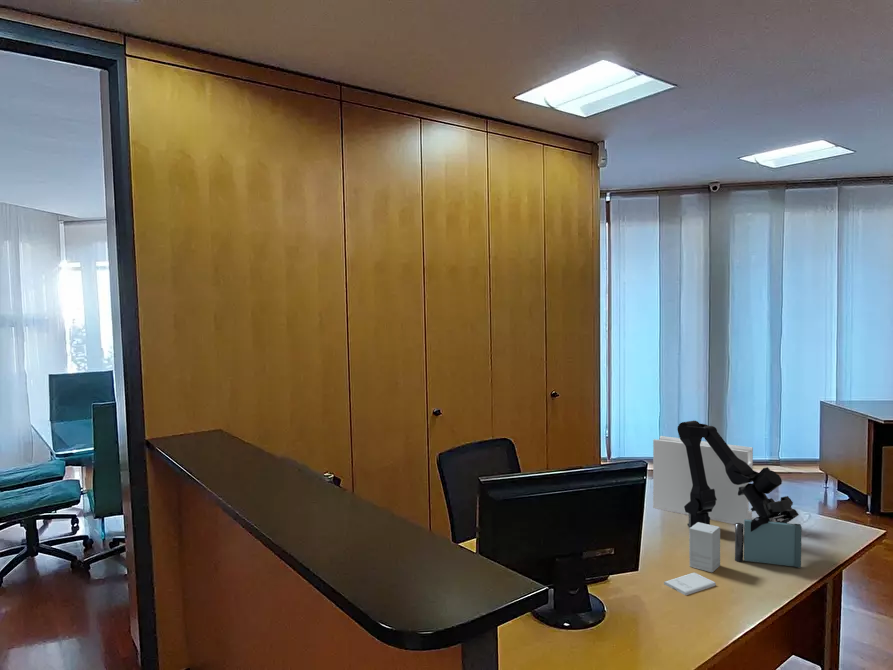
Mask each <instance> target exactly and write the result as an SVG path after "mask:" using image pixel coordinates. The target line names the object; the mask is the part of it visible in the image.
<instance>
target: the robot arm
mask: <svg viewBox="0 0 893 670" xmlns="http://www.w3.org/2000/svg"><path fill="white" fill-rule="evenodd" d="M676 430H677V433H678V438H680V440H681V441H682V442H683V443H684V445H685V446H686V450H687V456H688V462H689V467H690V473H691V478H692V484H693V487H692V490H691V493H690V502H689V503H687V504H686V505H685V506H684V508H685V512H687V513H689V515H688V523H687V527H688V529H689V528H690V527H692V526H693V525H695V524H696V523H697V522H700V523H704V524H709V525H711V519H710V517H709V516H708V512H712V509H713V507H714V506H715V505H716V500H717V499H716V496H715V490H714V489H710V487H709V486H708V485H707V481H706V475H705V470H704V465H703V459H702V454H701V448H700V443H701V441H702V439H705V440H704V441H705V442H708V444H709V445H710V446H711V448H712V449H713V450H714V452H715V453H716V454H717V456H718V457H719V458H720V459H721V461H722V462H723V464H724V465H725V470H726V473H727V475H728V477H729V479H730V481H731V482H732V483H733V484H736V485H741V484H745V483H749V484H747V485H746V486H744V487H739V491H738V495H739V496H740V495H745V496H746V498H747V499H748V501H749V505H751V508H750V511H752V513H753V512H755V513H756V514H757V516H756V517H755V518H752V522H751V532H752V531H754V530H756V529H757V528H758V527H760V526H761V525H763V524H767V523H768V522H779V523H789V522H791V521H792V520H794V519H795V518H797V517H798V516H799V513H798V511H797V510H796V509H795V508H792V506H793V505H794V504H793V503H794V501H793V500H792V499H791V497H790V496H788V495H785V496H782V497H780V500H778V501H777V500H776V501H775V500H774V499H773V498H772V497H771V498H769V497H768V496H767V494H771V493H772V492H773V491H774V490H776V489H777V488H778V487H779V486H781V485H782V484H783V479H782V478H781V476H780V474H778V473H777V472H776V471H773V470H771V469H770V468H769V467H768V466H767V467H763V468H761V470H760V471H759V472H758V471H756V470H754V469H752V468H751V467H750V466H749V465H748V464H747V463H746V462H744V461H742V460H740V459H739V458H738V457H737V456H736V455H735V454H734V453H733V451H732V450H731V449H730V448H729V446H728V445H727V442H726V441H725V440H724V439H723V437H722V436H721V435H720V433H719V432H718V429H717V428H716V427H715V426H714V425H710V424H707V423H700V422H699V421H697V420H688V421H683V422H682V421H681V422H680V423H679V424H678V426H677V429H676Z"/></svg>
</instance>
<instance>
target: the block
mask: <svg viewBox="0 0 893 670" xmlns="http://www.w3.org/2000/svg"><path fill="white" fill-rule="evenodd" d="M652 441H653V443H652V444H653V445H652V447H653V450H652V451H653V452H652V453H653V457H652V458H653V459H652V464H653V465H652V467H653V469H652V470H653V472H652V473H653V475H652V478H653V479H652V482H653V483H652V484H653V486H652V489H653V491H652V494H653V495H652V503H653V504H652V508H653V509H657V510H661V511H667V512H672V513H677V514H682V515H687V516H689V513H687V512H685V508H684V506H685V505H686V504H687V503H689V502H690V493H691V490H692V487H693V484H692V478H691V473H690V467H689V462H688V456H687V450H686V446H685V445H684V443H683V442H682V441H681V440H680V437H672V436H664V435H660V436H659V439H656V438H655V439H654V438H653V440H652ZM726 444H727V443H726ZM727 445H728V446H729V448H730V449H731V450H732V451H733V453H734V454H735V455H736V456H737V457H738V458H739V459H740V460H742V461H744V462H746V463H747V464H748V465H749V466H750V467H751V468H752V469H753V465H754V463H753V458H754V457H753V456H754V455H753V454H754V448H753V447H751V446H744V445H735V444H729V443H728V444H727ZM700 448H701V454H702V459H703V465H704V470H705V475H706V481H707V485H708V486H709V487H710V489H714V490H715V496H716V499H717V500H716V505H715V506H714V507H713V509H712V512H708V516H709V517H710V521H716V522H722V523H726V524H730V525H731V524H732V525H735V523H742V524H743V527H744V519H747V520H753V512H752V510H749V509H750V507H749V505H750V502H749V501H748V499H747V498H746V496H745V495H740V496H739V495H738V491H739V487H744V486H746V485H747V484H749V483H745V484H741V485H736V484H733V483H732V482H731V481H730V479H729V477H728V475H727V473H726V470H725V465H724V464H723V462H722V461H721V459H720V458H719V457H718V456H717V454H716V453H715V452H714V450H713V449H712V448H711V446H710V445H709V444H708V442H707V441H706V440H703V441H702V440H701V443H700ZM753 470H754V469H753Z"/></svg>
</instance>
